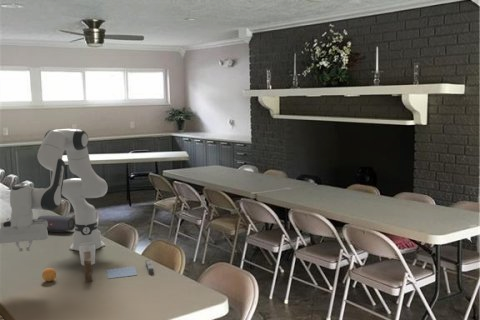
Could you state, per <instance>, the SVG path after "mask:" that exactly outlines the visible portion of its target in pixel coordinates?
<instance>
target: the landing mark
mask: <svg viewBox="0 0 480 320" xmlns="http://www.w3.org/2000/svg"><path fill="white" fill-rule="evenodd" d="M106 273H107V279H108V280H110V278H111V279H118V278H126V277H133V276H137V275H138V273H137V271H136V267H135V266H126V267H119V268H110V269H106Z"/></svg>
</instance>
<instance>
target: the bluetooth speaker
mask: <svg viewBox="0 0 480 320" xmlns="http://www.w3.org/2000/svg"><path fill="white" fill-rule="evenodd" d="M37 219H44V220H47V222H48V227H47V231H48V232H50V233H64V232H66V231H67V232H69V231H70V232H71V231H74V230H75V217H73V216H72V217H71V216H64V215H40V216H38V217H37Z"/></svg>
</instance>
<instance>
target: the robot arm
mask: <svg viewBox="0 0 480 320" xmlns="http://www.w3.org/2000/svg"><path fill="white" fill-rule="evenodd" d="M43 138H44V139H43V140H42V142H41V143H40V146H39V149H38V151H37V157H36V158H37V161H38V163H39V165H41V167H44V168H45V169H46V170H49V171H51V172H52V175H51V180H50V185H49V187H46V188H42V187H41V188H37V187H33V186H30V184H29V183H27V182H20V183H16V184H14V185H12V186H11V187H10V192H9V204H10V208H11V214H10V217H8V218H5V219H3V220H1V222H0V244H2V245H3V244H11V243H15V245H16V247H17V248H18V252H19V253H21V252H23V251H24V246H21V245H20V243H22V242H28V244H29V245H27V246H26V247H25V249H26V252H30V251H31V246H32V244H33V241H43V240H47V239H48V237H49V233H48V232H49V231H48V230H47V227H48V222H47V220H44V219H38V218H37V219H36V218H35V219H34V213H33V210H39V211H40V210H43V211H52V212H53V211H56V209H58V208H59V207H60V205H61V204H62V197H64V198H65V199H66V200H68V202H69V203H70V205H71V206H72V209H73V213H74V219H75V228H74V232H73V234H72V244H71V245H70V246H69V250H72V251H73V250H74V251H78V252H79V244H81V243H86V242H93V243H95V250H97V249H99V248H103V247H105V246H106V245H105V243H104V241H102V233H101V231H100V230H99V227H98V221H97V211H96V208H95V206H94V205H93V204H91V203H89V202H88V201H87V200H86V199H97V198H101V197H102V198H103V197H105V195H106V194H107V192H108V183H107V182H106V180H105V179H104V178H102V177H101V176H99V175H98V174H97V173H96V172H95V170H94V169H93V167H92V164H91V159H90V154H89V150H88V144H89V136H88V134H87V132H86V131H85V130H84V129H83V130H82V129H74V128H60V129H56V128H52V129H49V130H48V131H46V133H45V134H44V137H43ZM65 151H66V157H67V164H68V167H69V172H71V173H72V174H73V175H75V176H77V177H71V178H66V179H65V173H66V163H65V161H64V160H63V156H64V153H65Z"/></svg>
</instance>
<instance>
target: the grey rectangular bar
mask: <svg viewBox="0 0 480 320" xmlns="http://www.w3.org/2000/svg"><path fill="white" fill-rule="evenodd" d="M145 267H146V269H147V272H148V275H154V273H155V272H154V267H153V265H152V262H151V259H145Z"/></svg>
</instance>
